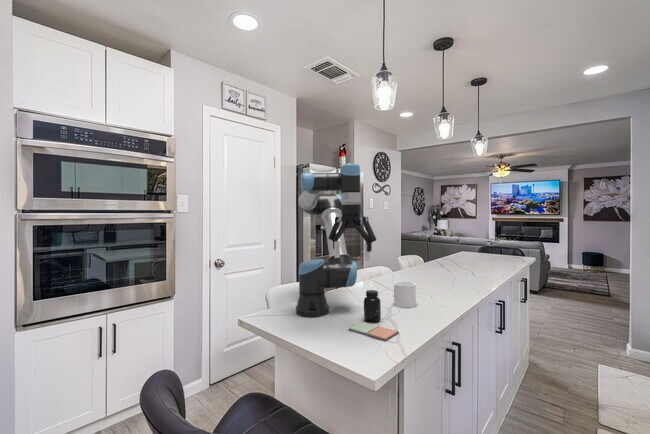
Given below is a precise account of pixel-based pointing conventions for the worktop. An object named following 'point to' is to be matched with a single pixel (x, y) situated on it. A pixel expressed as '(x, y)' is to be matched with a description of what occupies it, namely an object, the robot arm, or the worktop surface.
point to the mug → (404, 294)
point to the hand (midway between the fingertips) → (351, 259)
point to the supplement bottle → (372, 307)
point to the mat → (374, 331)
